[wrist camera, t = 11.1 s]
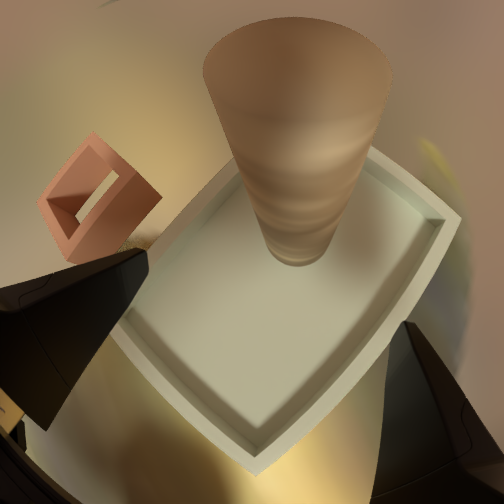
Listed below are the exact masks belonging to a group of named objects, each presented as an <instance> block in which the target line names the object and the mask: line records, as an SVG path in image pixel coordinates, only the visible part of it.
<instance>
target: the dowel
mask: <svg viewBox="0 0 504 504" xmlns="http://www.w3.org/2000/svg"><path fill="white" fill-rule="evenodd" d="M203 77H204V80H205V83H206V85H207V88H208V91H209V93H210V95H211V98H212V101H213V103H214V106H215V108H216V111H217V114H218V116H219V119H220V122H221V124H222V127H223V129H224V132H225V135H226V137H227V140H228V142H229V145H230V148H231V150H232V153H233V155H234V158H235V161H236V164H237V166H238V169H239V172H240V174H241V177H242V180H243V182H244V185H245V188H246V191H247V193H248V196H249V199H250V201H251V204H252V207H253V210H254V212H255V215H256V218H257V221H258V223H259V226H260V229H261V232H262V234H263V237H264V240H265V243H266V245H267V248H268V250H269V251H270V253H271V254H272V255H273V256H274V257H275V258H276V259H277V260H278V261H280V262H281V263H283V264H286V265H289V266H294V267H302V266H307V265H310V264H312V263H314V262H316V261H317V260H319V259H320V258H321V257H322V256H323V255H324V254H325V252H326V250H327V248H328V246H329V244H330V242H331V240H332V238H333V235H334V233H335V231H336V229H337V226H338V224H339V222H340V220H341V217H342V215H343V213H344V210H345V208H346V206H347V203H348V201H349V199H350V196H351V194H352V192H353V189H354V187H355V184H356V182H357V179H358V177H359V174H360V172H361V169H362V167H363V164H364V162H365V159H366V156H367V154H368V151H369V149H370V146H371V143H372V140H373V138H374V135H375V132H376V130H377V127H378V124H379V121H380V118H381V115H382V112H383V109H384V106H385V103H386V100H387V97H388V94H389V91H390V88H391V85H392V78H393V74H392V69H391V66H390V63H389V61H388V60H387V58H386V56H385V55H384V54H383V52H382V51H381V50H380V49H379V48H378V47H377V46H376V45H375V44H374V43H373V42H371V41H370V40H369V39H367V38H366V37H364V36H363V35H361V34H360V33H358V32H356V31H354V30H352V29H350V28H347V27H345V26H342V25H339V24H336V23H333V22H329V21H325V20H320V19H313V18H303V17H287V18H286V17H285V18H274V19H268V20H263V21H259V22H256V23H252V24H249V25H246V26H244V27H241V28H239V29H237V30H235V31H233V32H232V33H230V34H228V35H227V36H225V37H224V38H222V39H221V40H220V41H219V42H218V43H217V44H215V46H214V47H213V48H212V49H211V50H210V52H209V53H208V55H207V56H206V59H205V61H204V66H203Z"/></svg>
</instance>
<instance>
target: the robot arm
mask: <svg viewBox="0 0 504 504" xmlns="http://www.w3.org/2000/svg"><path fill="white" fill-rule="evenodd" d="M148 273H149V263H148V255H147V252H146V251H145V250H143V249H140V248H133V249H130V250H126V251H123V252H119V253H116V254H113V255H109V256H106V257H102V258H99V259H96V260H93V261H89V262H86V263H83V264H80V265H76V266H73V267H70V268H67V269H64V270H61V271H58V272H54V274H53V273H52V274H48V275H45V276H42V277H39V278H36V279H32V280H29V281H25V282H22V283H18V284H14V285H10V286H7V287H3V288H0V504H82V503H81V502H80V501H78V500H77V499H76V498H75V497H73V496H72V495H71V494H69V493H68V492H67V491H66V490H64V489H63V488H62V487H61V486H60V485H58V484H57V483H56V482H55V481H54V480H53V479H52V478H50V477H49V476H48V475H47V474H46V473H45V472H44V471H43V470H42V469H41V468H40V467H39V466H38V465H37V464H35V463H34V462H33V461H32V460H31V459H30V457H29V456H28V455H27V454H26V453H25V451H26V449H27V447H26V437H25V424H24V422H23V421H22V420H21V419H22V418H23V416H24V415H25V414H26V415H27V416H29V417H30V418H31V419H32V420H33V421H34V422H35V423H36V424H37V425H39V426H40V427H41V428H42V429H43V430H44V431H47V430H48V428H49V427H50V425H51V423H52V422H53V420H54V418H55V416H56V415H57V413H58V411H59V410H60V408H61V406H62V405H63V403H64V401H65V400H66V398H67V397H68V395H69V393H70V392H71V390H72V388H73V387H74V385H75V384H76V382H77V381H78V379H79V377H80V376H81V374H82V373H83V371H84V370H85V368H86V367H87V365H88V364H89V362H90V361H91V359H92V358H93V356H94V355H95V353H96V352H97V350H98V349H99V348H100V346H101V345H102V343H103V342H104V340H105V339H106V338H107V336H108V335H109V333H110V332H111V330H112V329H113V328H114V326H115V325H116V323H117V322H118V321H119V319H120V318H121V317H122V315H123V314H124V312H125V311H126V310H127V308H128V307H129V305H130V304H131V302H132V301H133V299H134V297H135V295H136V294H137V292H138V290H139V289H140V287H141V286H142V284H143V282H144V281H145V279H146V277H147V276H148ZM369 504H504V454H503V452H502V451H501V450H500V448H499V446H498V445H497V444H496V442H495V440H494V439H493V437H492V436H491V434H490V433H489V432H488V430H487V429H486V427H485V426H484V424H483V423H482V421H481V420H480V418H479V417H478V415H477V413H476V412H475V410H474V409H473V407H472V406H471V404H470V402H469V401H468V399H467V398H466V396H465V394H464V393H463V391H462V390H461V388H460V386H459V385H458V383H457V382H456V380H455V379H454V377H453V376H452V374H451V373H450V371H449V370H448V368H447V367H446V365H445V364H444V363H443V361H442V360H441V358H440V357H439V355H438V354H437V353H436V351H435V350H434V348H433V347H432V346H431V344H430V343H429V341H428V340H427V339H426V337H425V336H424V335H423V333H422V332H421V331H420V329H419V328H418V327H417V325H416V324H415V323H414V322H411V321H406V320H404V321H402V322H401V323H400V325H399V327H398V328H397V330H396V332H395V333H394V335H393V337H392V339H391V342H390V350H389V358H388V366H387V374H386V381H385V395H384V410H383V422H382V432H381V441H380V449H379V456H378V462H377V469H376V474H375V480H374V485H373V490H372V495H371V499H370V503H369Z"/></svg>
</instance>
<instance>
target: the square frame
mask: <svg viewBox="0 0 504 504" xmlns="http://www.w3.org/2000/svg"><path fill="white" fill-rule="evenodd" d="M112 170H114V171H115V172H116V173H117V174H118V175H119V177H118V179H117V180H116V181H115V182H114V183H113V184H112V185H111V187H110V188H109V189H108V190H107V192H106V193H105V194H104V195H103V196H102V197H101V199H100V200H99V201H98V202H97V203H96V205H95V206H94V207H93V208H92V210H91V211H90V213H89V214H88V215H87V216H86V218H85V219H84V220H83V222H82V223H81V224H80V223H79V222H78V220H77V219H76V217H75V215H76V214H77V212H78V211H79V210H80V208H81V207H82V206H83V205H84V203H85V202H86V201H87V199H88V198H89V197H90V196H91V194H92V193H93V192H94V191H95V190H96V188H97V187H98V186H99V185H100V184H101V182H102V181H103V180H104V179H105V178H106V177H107V175H108V174H109V173H110V172H111V171H112ZM161 199H162V196H161V195H160V194H159V193H158V192H157V191H156V190H155V189H154V188H153V187H152V186H151V185H150V184H149V183H148V182H147V181H146V180H145V179H144V178H143V177H142V176H141V175H140V174H139V173H138V172H137V171H136V170H135V169H134V168H133V167H132V166H130V165H129V164H128V163H127V162H126V161H125V160H124V159H123V158H121V156H119V155H118V154H117V153H116V152H115V151H114V150H113V149H112V148H111V147H109V146H108V145H107V144H106V143H105V142H104V141H103V140H102V139H101V138H100V137H99V136H98V135H96V134H95V133H94V132H92V133H91V134H90V135H89V136H88V137H87V138H86V140H85V141H84V142H83V143H82V144H81V145H80V146H79V148H78V149H77V150H76V151H75V152H74V153H73V154H72V156H71V157H70V158H69V159H68V160H67V162H66V163H65V164H64V166H63V167H62V168H61V169H60V170H59V172H58V173H57V174H56V176H55V177H54V178H53V180H52V181H51V183H50V184H49V185H48V186H47V188H46V190H45V191H44V192H43V193H42V195H41V196H40V198H39V199H38V201H37V202H36V203H37V205H38V207H39V209H40V212H41V214H42V216H43V218H44V220H45V222H46V224H47V226H48V228H49V230H50V232H51V234H52V236H53V237H54V240H55V241H56V243H57V245H58V247H59V249H60V251H61V252H62V254H63V256H64V258H65V259H66V261H68V262H71V263H74V264H77V265H80V264H83V263H86V262H89V261H93V260H96V259H99V258H102V257H106V256H109V255H113V254H115V253H116V252H117V251H118V249H119V248H120V247H121V246H122V244H123V243H124V242H125V241H126V239H127V238H128V237H129V236H130V234H131V233H132V232H133V231H134V230H135V228H136V227H137V226H138V225H139V224H140V223H141V221H142V220H143V219H144V218H145V217H146V216H147V214H148V213H149V212H150V211H151V210H152V209H153V208H154V207H155V205H156V204H157V203H158V202H159V201H160V200H161Z"/></svg>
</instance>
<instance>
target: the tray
mask: <svg viewBox="0 0 504 504" xmlns="http://www.w3.org/2000/svg"><path fill="white" fill-rule="evenodd" d="M461 219H462V218H461V217H460V216H459V215H457V214H456V213H455V212H454V211H453V210H452V209H451V208H450V207H449V206H448V205H447V204H446V203H444V202H443V201H442V200H441V199H440V198H439V197H438V196H436V195H435V194H434V193H433V192H432V191H431V190H429V189H428V188H427V187H426V186H425V185H423V184H422V183H421V182H420V181H418V180H417V179H416V178H415V177H413V176H412V175H411V174H410V173H408V172H407V171H406V170H404V169H403V168H402V167H400V166H399V165H398V164H396V163H395V162H394V161H392V160H391V159H389V158H388V157H387V156H385V155H384V154H382V153H381V152H379V151H378V150H377V149H375V148H374V147H372V146H370V149H369V151H368V154H367V156H366V159H365V162H364V164H363V167H362V169H361V172H360V174H359V177H358V179H357V182H356V184H355V187H354V189H353V192H352V194H351V196H350V199H349V201H348V203H347V206H346V208H345V210H344V213H343V215H342V217H341V220H340V222H339V224H338V226H337V229H336V231H335V233H334V235H333V238H332V240H331V242H330V244H329V246H328V248H327V250H326V252H325V254H324V255H323V256H322V257H321V258H320V259H319V260H317V261H316V262H314V263H312V264H310V265H307V266H302V267H294V266H289V265H286V264H283V263H281V262H280V261H278V260H277V259H276V258H275V257H274V256H273V255H272V254H271V253H270V251H269V250H268V248H267V245H266V243H265V240H264V237H263V234H262V232H261V229H260V226H259V223H258V221H257V218H256V215H255V212H254V210H253V207H252V204H251V201H250V199H249V196H248V193H247V191H246V188H245V185H244V182H243V180H242V177H241V174H240V172H239V169H238V166H237V164H236V161H235V158H232V159H231V160H230V161H229V163H227V164H226V165H225V166H224V167H223V168H222V169H221V170H220V171H219V173H217V174H216V175H215V177H214V178H213V179H212V180H211V181H210V182H209V183H208V184H207V185H206V186H205V187H204V188H203V189H202V190H201V191H200V192H199V193H198V194H197V196H195V197H194V198H193V199H192V201H191V202H190V203H189V204H188V205H187V206H186V207H185V208H184V209H183V210H182V211H181V213H180V214H179V215H178V216H177V217H176V218H175V219H174V220H173V221H172V223H171V224H170V225H169V226H168V227H167V228H166V229H165V231H164V232H163V233H162V234H161V235H160V236H159V237H158V239H157V240H156V241H155V242H154V243H153V244H152V246H151V247H150V248H149V249H148V250H147V255H148V263H149V273H148V276H147V277H146V279H145V281H144V282H143V284H142V286H141V287H140V289H139V290H138V292H137V294H136V295H135V297H134V299H133V301H132V302H131V304H130V305H129V307H128V308H127V310H126V311H125V312H124V314H123V315H122V317H121V318H120V319H119V321H118V322H117V323H116V325H115V326H114V328H113V329H112V330H111V332H110V333H109V334H110V335H111V337H112V338H113V339H114V341H115V342H116V343H117V344H118V346H119V347H120V348H121V350H122V351H123V352H124V353H125V354H126V356H127V357H128V358H129V359H130V361H131V362H132V363H133V364H134V365H135V366H136V368H137V369H138V370H139V371H140V372H141V373H142V375H143V376H144V377H145V378H146V379H147V380H148V381H149V382H150V383H151V385H152V386H153V387H154V388H155V389H156V390H157V391H158V392H159V393H160V394H161V395H162V396H163V397H164V398H165V399H166V400H167V401H168V402H169V403H170V404H171V405H172V406H173V407H174V408H175V409H176V410H177V411H178V412H179V413H180V414H181V415H182V416H183V417H184V418H185V419H186V420H187V421H188V422H189V423H190V424H191V425H193V426H194V427H195V428H196V429H197V430H198V431H199V432H200V433H201V434H203V435H204V436H205V437H206V438H207V439H208V440H210V441H211V442H212V443H213V444H214V445H215V446H217V447H218V448H219V449H220V450H222V451H223V452H224V453H225V454H227V455H228V456H229V457H230V458H232V459H233V460H234V461H236V462H237V463H238V464H240V465H241V466H242V467H244V468H245V469H246V470H248V471H249V472H251V473H252V474H253V475H255V476H257V475H258V474H260V473H261V472H262V471H264V470H265V469H266V468H267V467H269V466H270V465H271V464H273V463H274V462H275V461H276V460H278V459H279V458H280V457H281V456H282V455H284V454H285V453H286V452H287V451H288V450H290V449H291V448H292V447H293V446H294V445H295V444H297V443H298V442H299V441H300V440H301V439H302V438H303V437H304V436H305V435H307V434H308V433H309V432H310V431H311V430H312V429H313V428H314V427H315V426H316V425H317V424H318V423H319V422H320V421H321V420H322V419H323V418H324V417H325V416H326V415H327V414H328V413H329V412H330V411H331V410H332V409H333V408H334V407H335V406H336V405H337V404H338V403H339V402H340V401H341V400H342V399H343V398H344V397H345V395H346V394H347V393H348V392H349V391H350V390H351V389H352V388H353V387H354V385H355V384H356V383H357V382H358V381H359V380H360V379H361V377H362V376H363V375H364V374H365V373H366V371H367V370H368V369H369V368H370V367H371V365H372V364H373V363H374V362H375V360H376V359H377V358H378V357H379V355H380V354H381V353H382V351H383V350H384V349H385V347H386V346H387V345H388V343H389V342H390V341H391V339H392V337H393V335H394V333H395V332H396V330H397V328H398V327H399V325H400V323H401V322H402V321H404V320H406V318H407V317H408V315H409V314H410V312H411V311H412V309H413V308H414V306H415V305H416V303H417V301H418V300H419V298H420V297H421V295H422V293H423V292H424V290H425V288H426V287H427V285H428V283H429V282H430V280H431V278H432V276H433V275H434V273H435V271H436V269H437V268H438V266H439V264H440V262H441V260H442V258H443V256H444V255H445V253H446V251H447V249H448V247H449V245H450V243H451V241H452V239H453V237H454V234H455V232H456V230H457V228H458V226H459V224H460V221H461Z"/></svg>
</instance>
